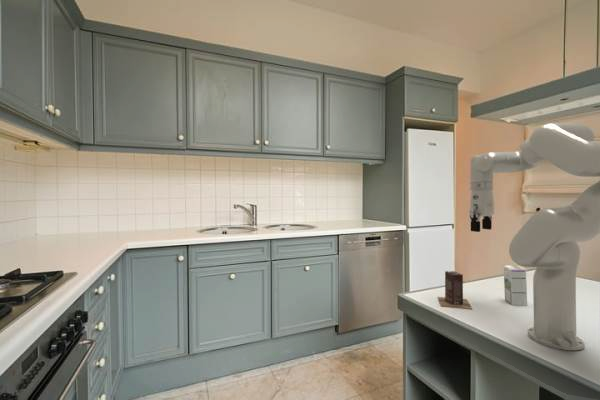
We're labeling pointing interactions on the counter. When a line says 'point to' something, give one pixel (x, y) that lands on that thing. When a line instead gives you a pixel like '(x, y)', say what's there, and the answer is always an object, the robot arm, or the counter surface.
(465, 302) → the brown board
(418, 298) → the counter surface
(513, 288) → the syrup box
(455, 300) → the box
